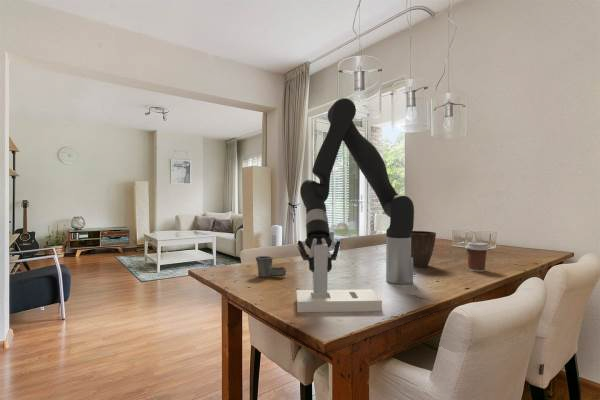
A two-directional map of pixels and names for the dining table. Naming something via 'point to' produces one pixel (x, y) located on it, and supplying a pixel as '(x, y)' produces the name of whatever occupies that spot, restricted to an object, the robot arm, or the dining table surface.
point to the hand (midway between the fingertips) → (320, 270)
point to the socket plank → (338, 301)
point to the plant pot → (422, 247)
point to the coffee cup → (476, 256)
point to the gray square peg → (320, 267)
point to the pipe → (268, 267)
